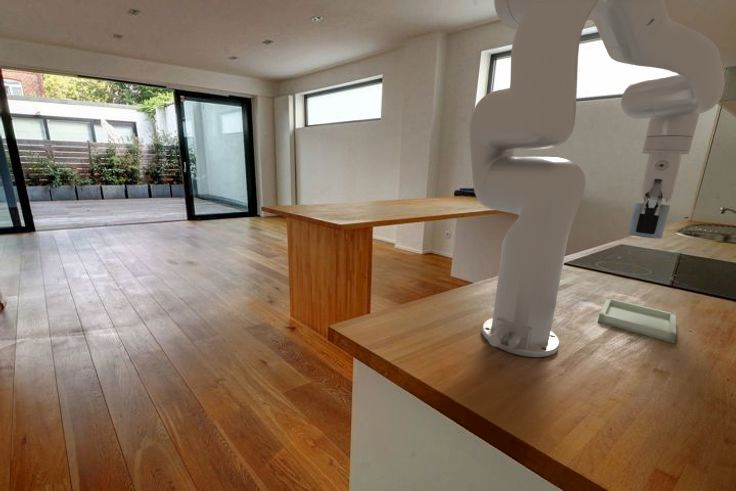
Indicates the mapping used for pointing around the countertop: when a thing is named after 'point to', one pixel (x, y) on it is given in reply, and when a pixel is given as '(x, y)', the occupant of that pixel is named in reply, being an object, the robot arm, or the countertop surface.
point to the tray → (639, 319)
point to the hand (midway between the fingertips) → (645, 230)
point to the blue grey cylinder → (660, 225)
